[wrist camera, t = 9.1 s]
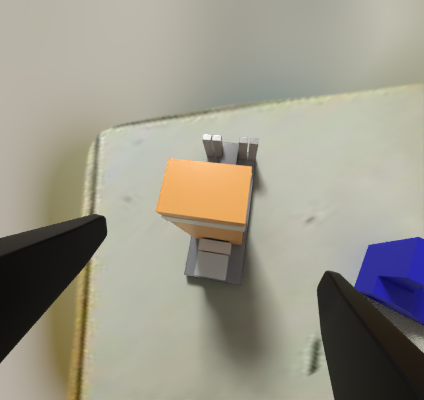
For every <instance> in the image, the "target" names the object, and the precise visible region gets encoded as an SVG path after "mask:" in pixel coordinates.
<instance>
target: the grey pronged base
mask: <svg viewBox="0 0 424 400" xmlns="http://www.w3.org/2000/svg"><path fill="white" fill-rule="evenodd" d="M202 140H203V144H204V147H205V151H206V155H207V157H206V162H211V163H221V164H231V165H242V166H252V171H251V173H252V176H251V185H250V193H249V201H248V209H247V218H246V226H245V231H244V232H243V236H242V244H241V245H236V244H231V243H229V241H226V240H220V239H213V238H207V237H206V239H201V238H200V239H197V238H194V237H192V236H191V241H190V246H189V251H188V256H187V262H186V267H185V272H184V275H189V276H194V277H200V278H205V279H211V280H216V281H221V282H227V283H232V284H238V285H241V277H242V269H243V260H244V252H245V243H246V235H247V227H248V218H249V210H250V201H251V193H252V184H253V176H254V167H255V159H256V154H257V148H258V142H259V139H258V138H250V145H249V152H247V146H248V138H245V137H240V140H239V143H228V142H224V144H223V145H222V136H220V135H213V140H212V135H207V134H203V139H202Z"/></svg>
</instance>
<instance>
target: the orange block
mask: <svg viewBox="0 0 424 400" xmlns="http://www.w3.org/2000/svg"><path fill="white" fill-rule="evenodd" d="M251 171H252V166H242V165H231V164H221V163H211V162H201V161H191V160H181V159H171V158H169V159H168V163H167V167H166V171H165V175H164V179H163V183H162V187H161V191H160V195H159V199H158V204H157V208H156V212H157V213H159V214H160V215H161V217H163V218H164V219H166V220H167V221H171V222H172V223H174V224H175V225H176V226H178V227H179V228H181V229H182V230H184V231H185V232H187V233H188V234H190V235H191V236H192V237H194V238H197V239H200V238H201V239H206V237H207V238H213V239H220V240H226V241H229V243H231V244H236V245H241V244H242V236H243V232H244V231H245V226H246V218H247V209H248V201H249V193H250V185H251V176H252V173H251Z"/></svg>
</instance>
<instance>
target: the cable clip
mask: <svg viewBox="0 0 424 400" xmlns="http://www.w3.org/2000/svg"><path fill="white" fill-rule="evenodd" d="M354 288H355V289H356V290H357V291H358V292H359V293H361V294H363V295H365V296H367V297H369V298H371V299H373V300H375V301H377V302H379V303H381V304H383V305H385V306H386V307H388V308H390V309H392V310H394V311H396V312H398V313H400V314H402V315H404V316H406V317H408V318H410V319H412V320H414V321H416V322H418V323H420V324H422V325H424V239H422V238H420V237H416V238H410V239H403V240H397V241H391V242H385V243H378V244H372V245H369V246H368V249H367V252H366V255H365V258H364V260H363V263H362V266H361V269H360V272H359V275H358V278H357V281H356V283H355V286H354Z"/></svg>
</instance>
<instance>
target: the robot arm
mask: <svg viewBox="0 0 424 400" xmlns="http://www.w3.org/2000/svg"><path fill="white" fill-rule="evenodd" d="M106 236H107V225H106V218H105V217H104V216H102V215H98V214H93V215H89V216H85V217H81V218H77V219H73V220H69V221H66V222H61V223H57V224H53V225H50V226H46V227H42V228H38V229H34V230H30V231H27V232H22V233H19V234H14V235H11V236H7V237H3V238H0V363H1V362H2V361H3V360H4V358H5V357H6V356H7V355H8V354H9V353H10V351H11V350H12V349H13V348H14V347H15V346H16V345H17V343H18V342H19V341H20V340H21V339H22V338H23V337H24V335H25V334H26V333H27V332H28V331H29V330H30V329H31V328H32V326H33V325H34V324H35V323H36V322H37V321H38V320H39V318H40V317H41V316H42V315H43V314H44V312H46V310H47V309H48V308H49V307H50V306H51V305H52V304H53V302H54V301H55V300H56V299H57V298H58V297H59V296H60V294H61V293H62V292H63V291H64V290H65V289H66V288H67V286H68V285H69V284H70V283H71V282H72V280H74V278H75V277H76V276H77V275H78V274H79V273H80V271H81V270H82V269H83V268H84V267H85V265H86V264H87V263H88V261H89V260H90V259H91V257H92V256H93V254H94V253H95V252H96V250H97V249H98V247H99V246H100V245H101V243H102V242H103V241H104V239H105V238H106ZM317 297H318V307H319V318H320V328H321V335H322V341H323V346H324V351H325V356H326V360H327V365H328V370H329V375H330V380H331V385H332V390H333V394H334V399H335V400H424V353H423V352H422V351H421V350H420V349H419V348H418V347H417V346H416V345H415V344H413V343H412V342H411V341H410V340H409V339H408V338H407V337H406V336H405V335H404V334H403V333H402V332H401V331H400V330H399V329H398V328H397V327H395V326H394V325H393V324H392V323H391V322H390V321H389V320H388V319H387V318H386V317H385V316H384V315H383V314H382V313H381V312H380V311H379V310H377V309H376V308H375V307H374V306H373V305H372V304H371V303H370V302H369V301H368V300H367V299H366V298H365V297H364V296H363V295H362V294H361V293H359V292H358V291H357V290H356V289H355V288H354V287H353V286H352V285H351V284H350V283H349V282H348V281H347V280H346V279H345V278H344V277H343V276H341V275H340V274H339V273H337V272H333V271H326V272H325V273H324V275H323V277H322V279H321V281H320V283H319V285H318V288H317Z"/></svg>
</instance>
